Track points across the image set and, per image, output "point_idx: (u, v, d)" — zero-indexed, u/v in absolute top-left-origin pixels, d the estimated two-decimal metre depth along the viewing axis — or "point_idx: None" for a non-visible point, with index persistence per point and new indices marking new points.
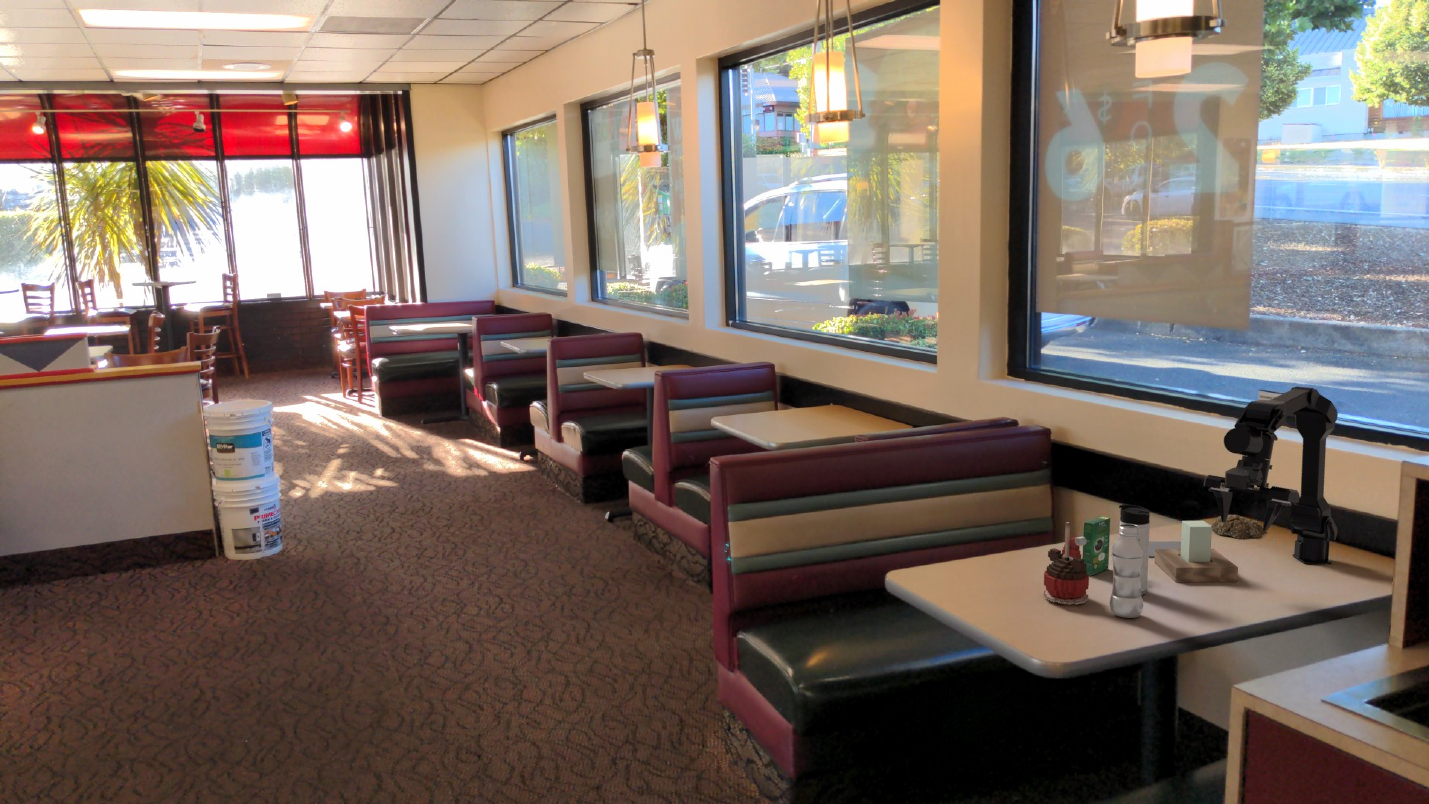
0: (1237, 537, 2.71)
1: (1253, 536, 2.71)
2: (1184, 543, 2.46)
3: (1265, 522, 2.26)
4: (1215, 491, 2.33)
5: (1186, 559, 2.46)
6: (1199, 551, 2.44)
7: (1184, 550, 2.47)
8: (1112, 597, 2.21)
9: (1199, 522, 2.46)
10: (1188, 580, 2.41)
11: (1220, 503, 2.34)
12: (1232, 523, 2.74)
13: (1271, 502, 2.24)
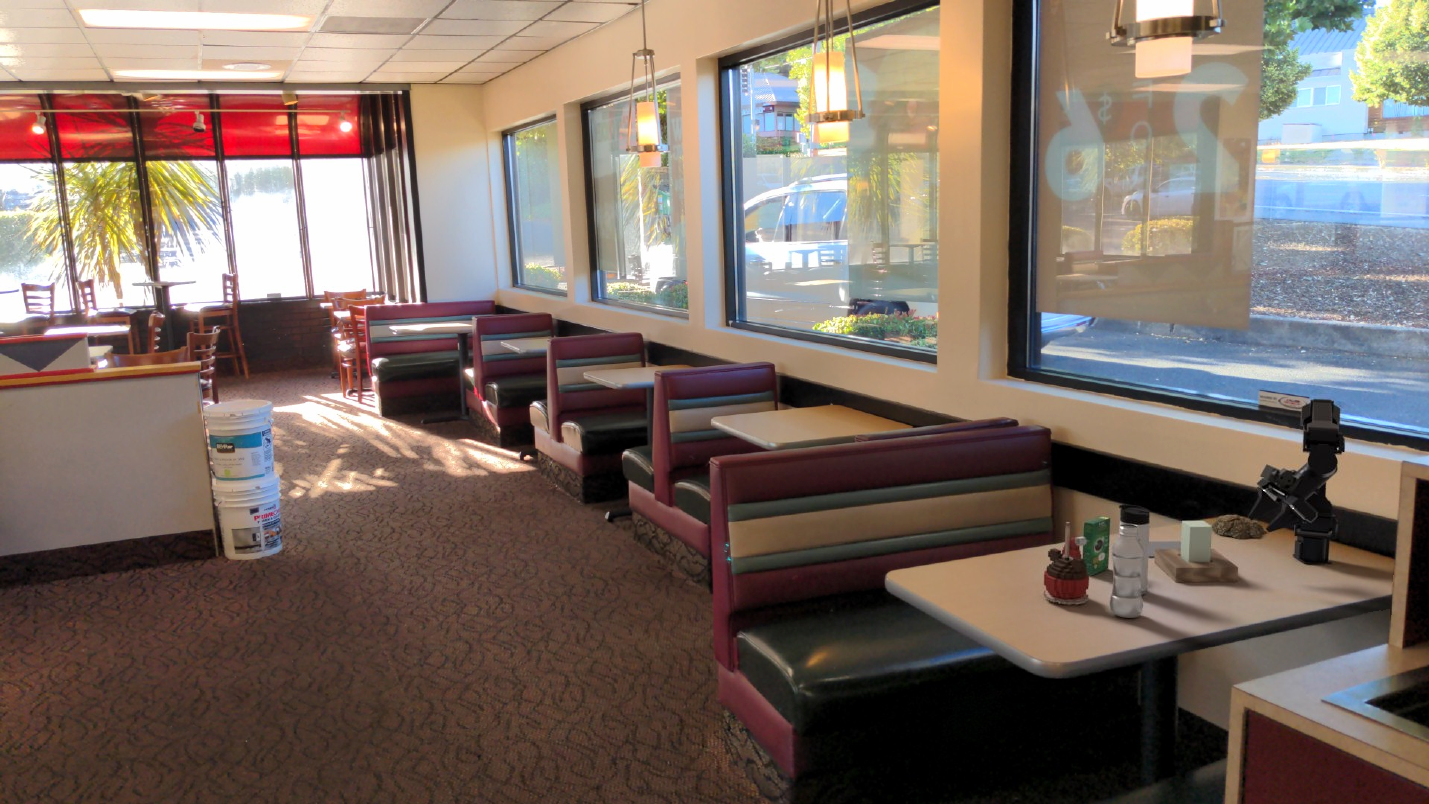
0: (1237, 537, 2.71)
1: (1253, 536, 2.71)
2: (1184, 543, 2.46)
3: (1271, 522, 2.33)
4: (1259, 489, 2.43)
5: (1186, 559, 2.46)
6: (1199, 551, 2.44)
7: (1184, 550, 2.47)
8: (1112, 597, 2.21)
9: (1199, 522, 2.46)
10: (1188, 580, 2.41)
11: (1257, 501, 2.43)
12: (1232, 523, 2.74)
13: (1284, 504, 2.31)
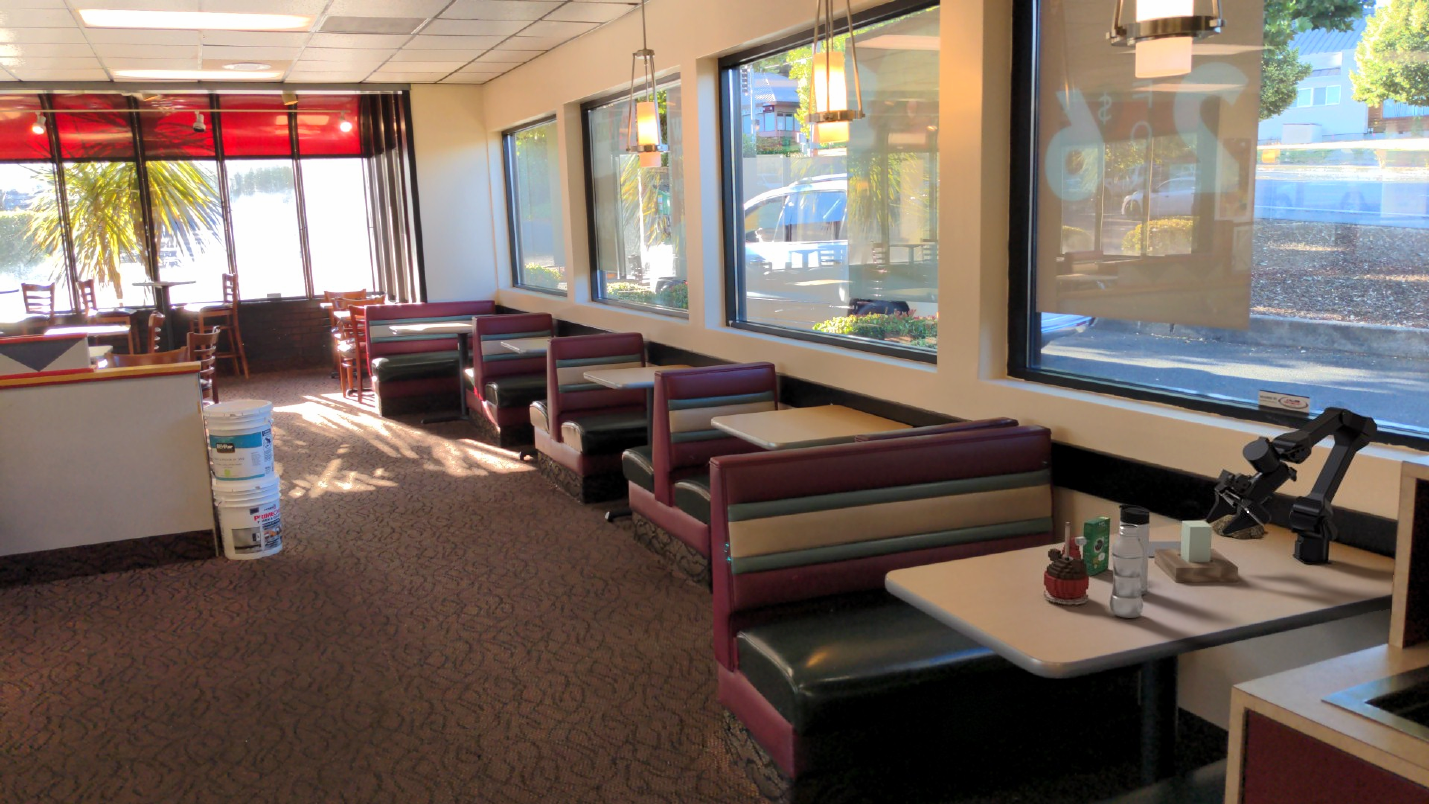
0: (1238, 537, 2.71)
1: (1254, 536, 2.71)
2: (1184, 543, 2.46)
3: (1227, 525, 2.40)
4: (1216, 493, 2.50)
5: (1186, 559, 2.46)
6: (1199, 551, 2.44)
7: (1184, 550, 2.47)
8: (1112, 597, 2.21)
9: (1199, 522, 2.46)
10: (1188, 580, 2.41)
11: (1215, 505, 2.49)
12: None
13: (1239, 508, 2.38)
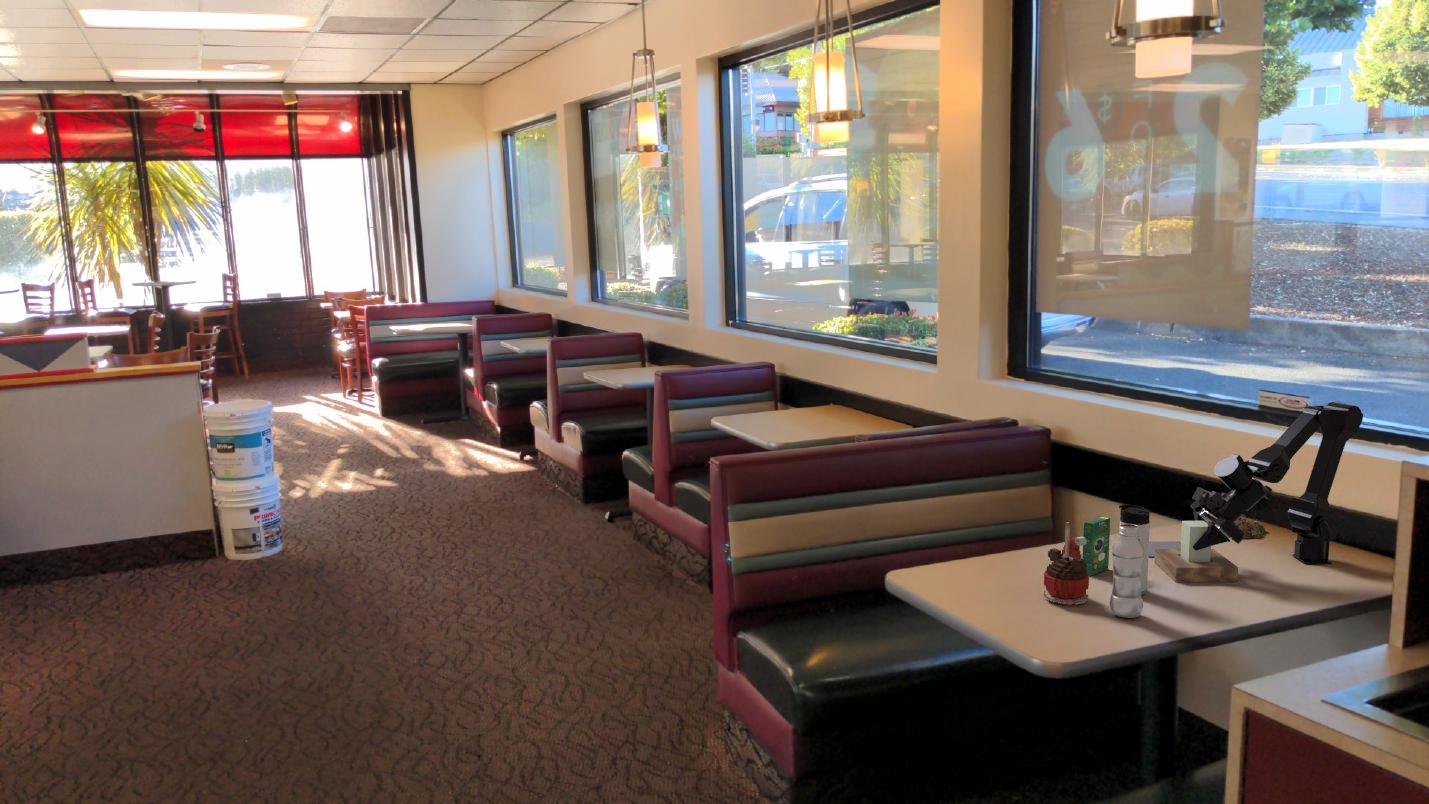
0: None
1: (1255, 536, 2.71)
2: (1184, 543, 2.46)
3: (1198, 541, 2.43)
4: (1195, 513, 2.49)
5: (1186, 559, 2.46)
6: (1199, 551, 2.44)
7: (1184, 550, 2.47)
8: (1112, 597, 2.21)
9: (1199, 522, 2.46)
10: (1188, 580, 2.41)
11: None
12: (1234, 523, 2.74)
13: (1209, 524, 2.41)
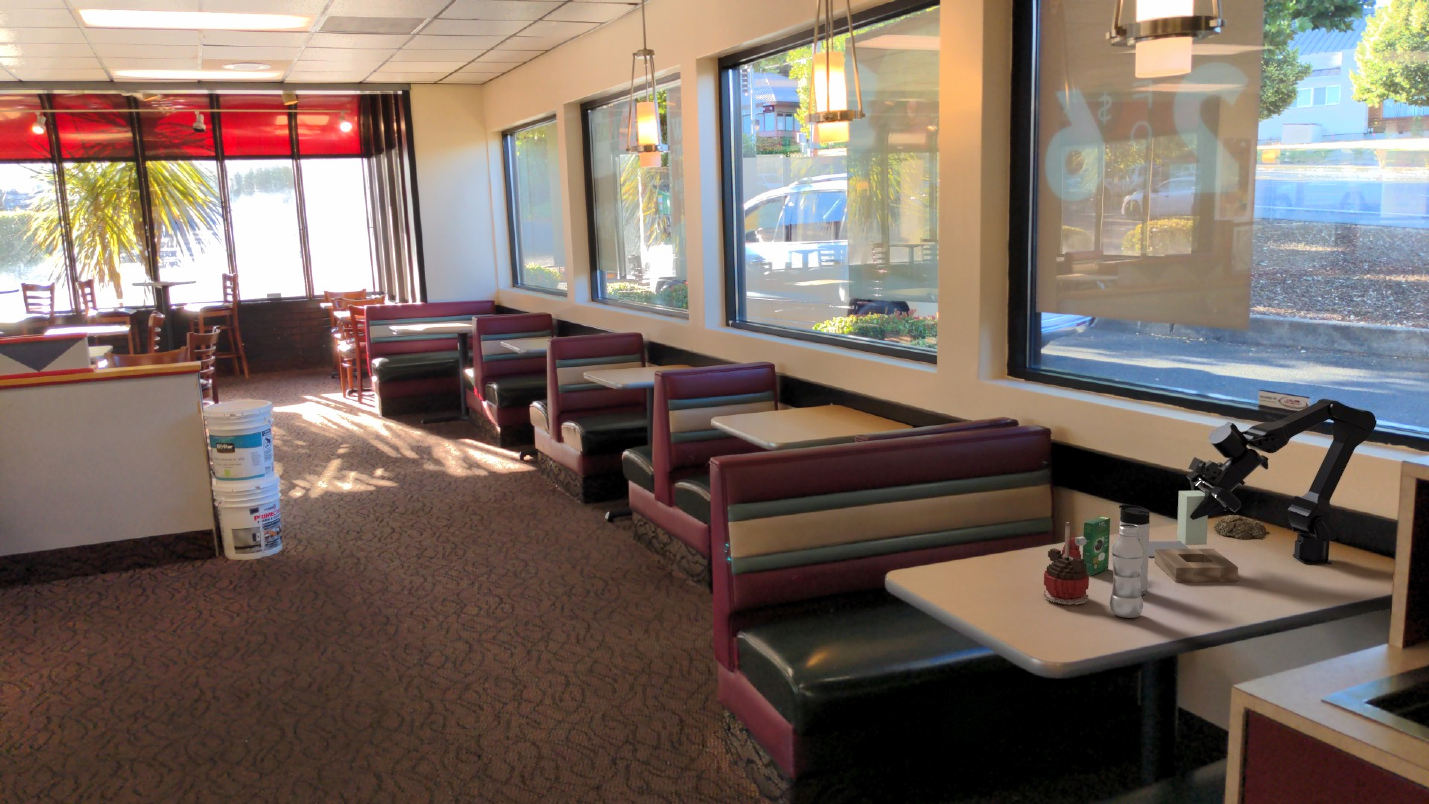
0: (1240, 538, 2.71)
1: (1256, 536, 2.71)
2: (1181, 513, 2.48)
3: (1195, 510, 2.44)
4: (1191, 483, 2.51)
5: (1183, 529, 2.47)
6: (1196, 520, 2.45)
7: (1181, 520, 2.48)
8: (1112, 597, 2.21)
9: (1196, 492, 2.48)
10: (1188, 580, 2.41)
11: None
12: (1235, 523, 2.74)
13: (1206, 493, 2.42)
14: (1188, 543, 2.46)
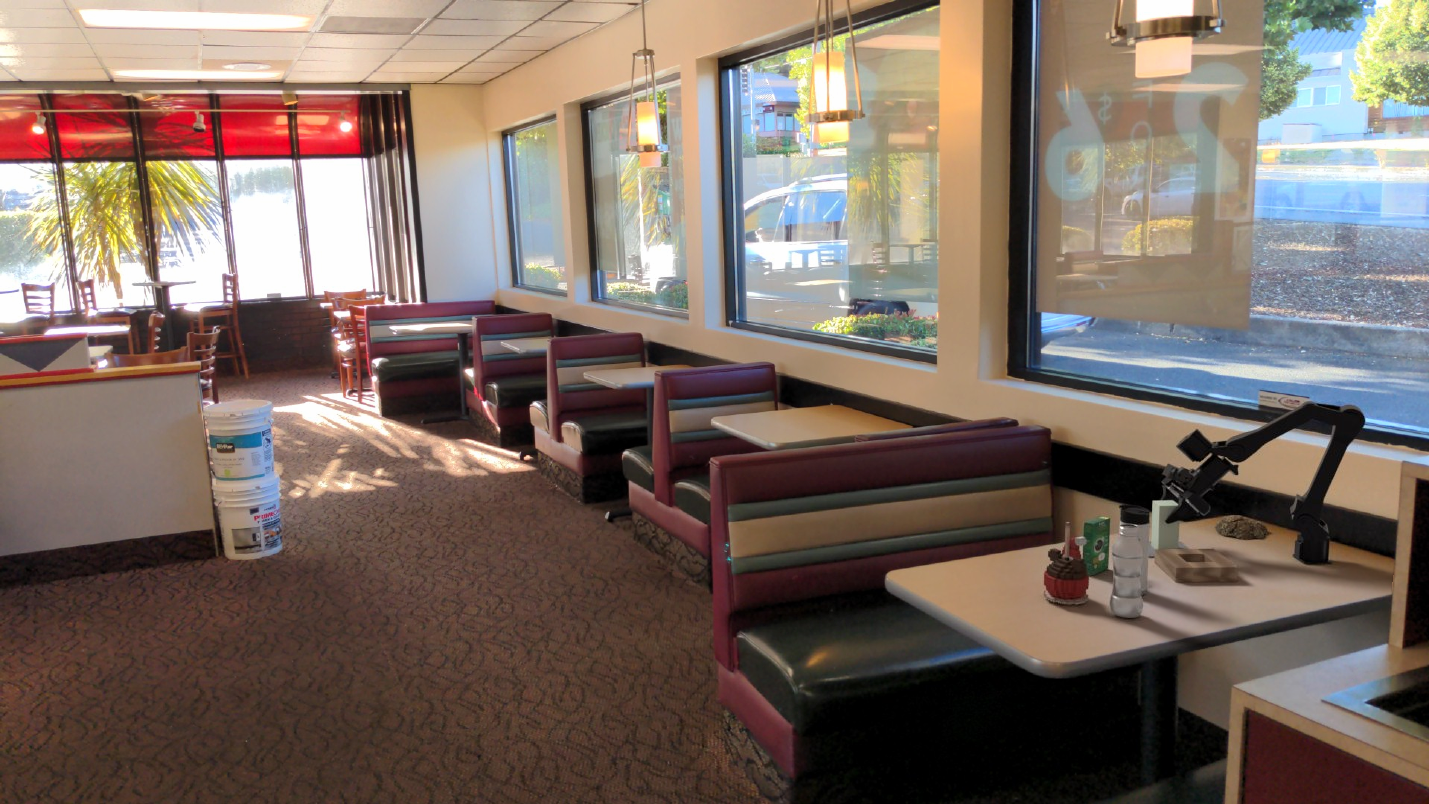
0: (1241, 538, 2.71)
1: (1257, 537, 2.71)
2: (1155, 521, 2.63)
3: (1169, 515, 2.58)
4: (1164, 486, 2.67)
5: (1156, 536, 2.62)
6: (1168, 528, 2.60)
7: (1154, 528, 2.64)
8: (1112, 597, 2.21)
9: (1168, 501, 2.63)
10: (1188, 580, 2.41)
11: (1162, 498, 2.67)
12: (1236, 524, 2.73)
13: (1180, 499, 2.56)
14: None
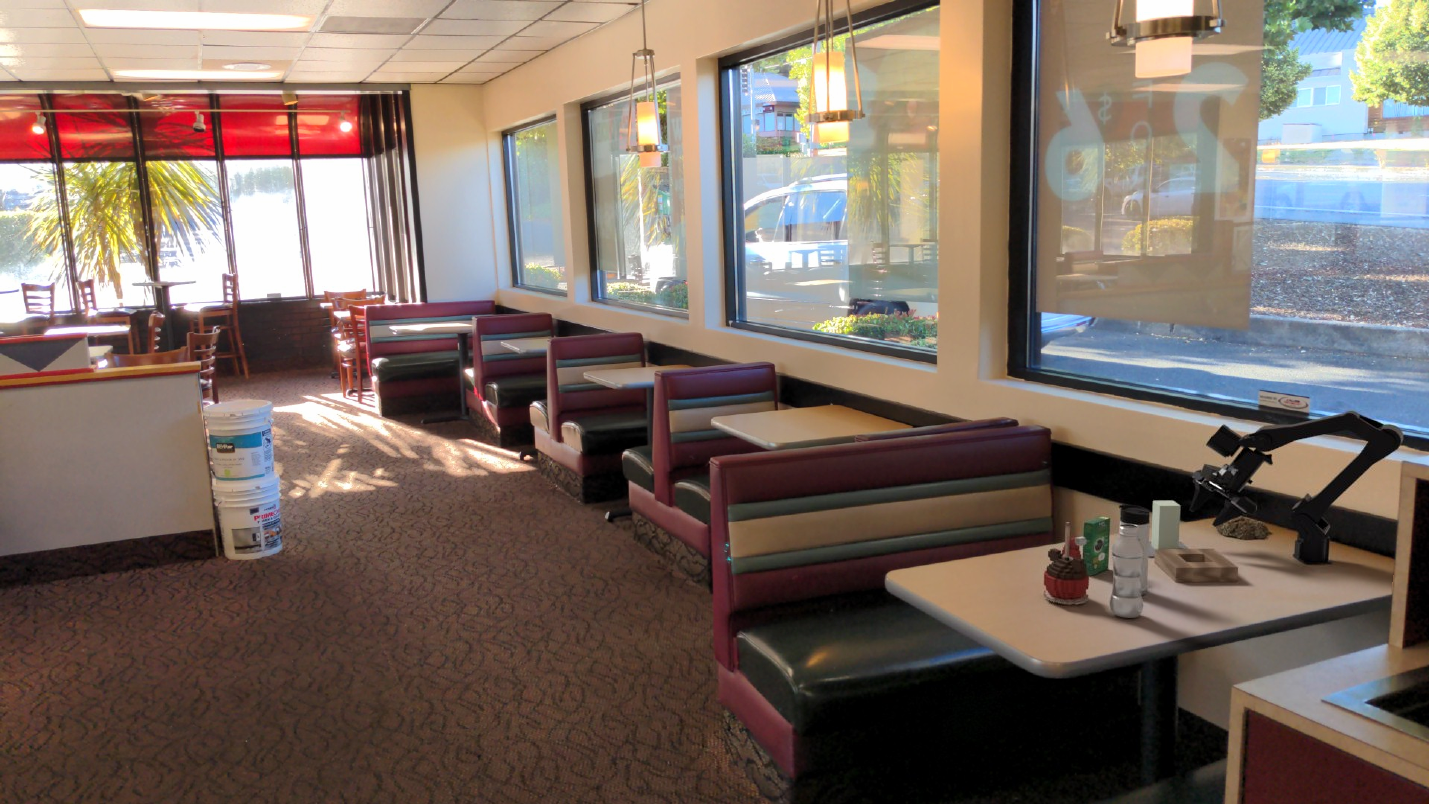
0: (1242, 538, 2.70)
1: (1258, 537, 2.71)
2: (1155, 521, 2.63)
3: (1216, 518, 2.56)
4: (1196, 482, 2.65)
5: (1156, 536, 2.62)
6: (1168, 529, 2.60)
7: (1154, 528, 2.64)
8: (1112, 597, 2.21)
9: (1169, 502, 2.63)
10: (1188, 580, 2.41)
11: (1196, 494, 2.65)
12: (1237, 524, 2.73)
13: (1227, 502, 2.53)
14: None
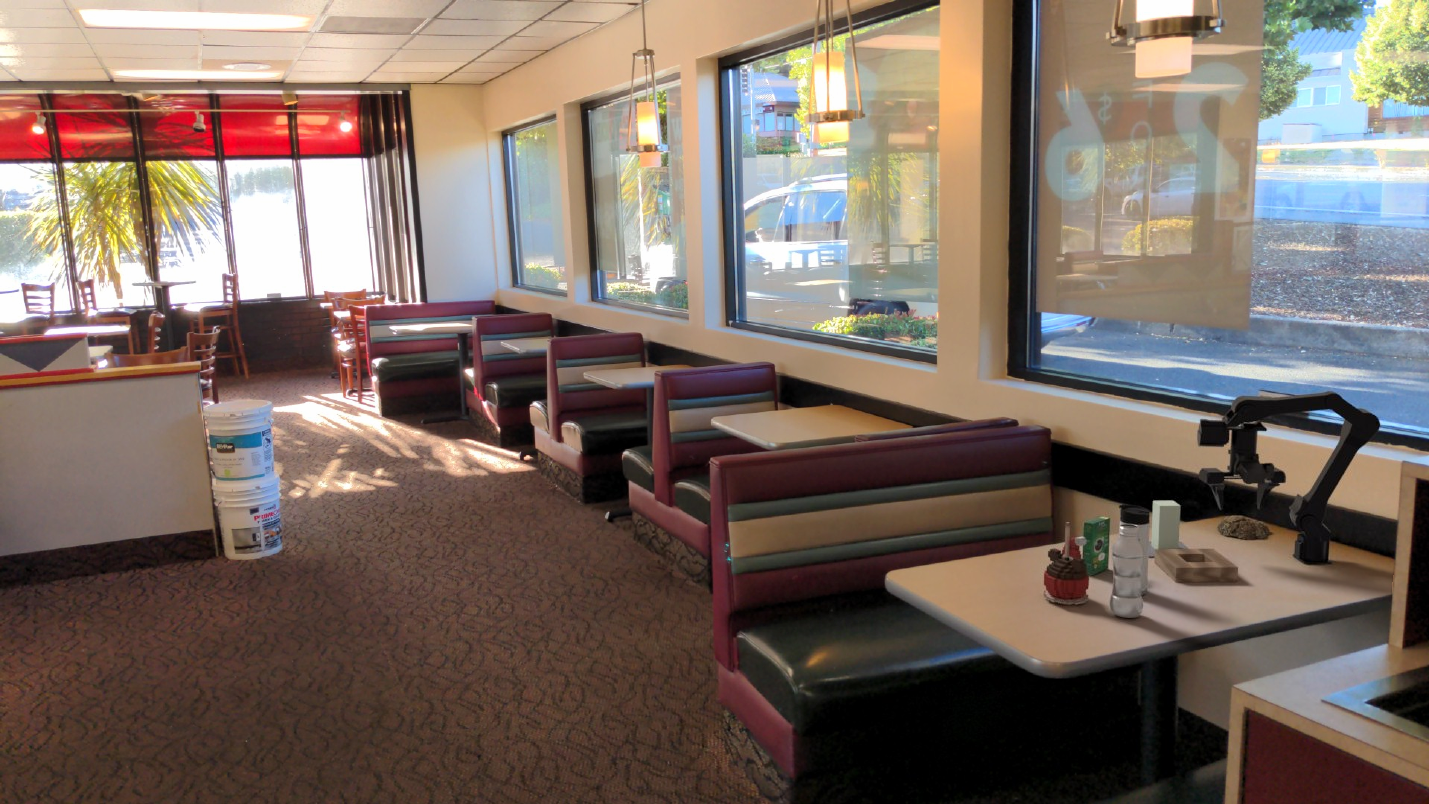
0: (1243, 538, 2.70)
1: (1259, 537, 2.70)
2: (1155, 521, 2.63)
3: (1262, 502, 2.54)
4: (1219, 486, 2.52)
5: (1156, 536, 2.62)
6: (1168, 529, 2.60)
7: (1154, 528, 2.64)
8: (1112, 597, 2.21)
9: (1169, 502, 2.63)
10: (1188, 580, 2.41)
11: (1220, 494, 2.54)
12: (1238, 524, 2.73)
13: (1272, 486, 2.52)
14: None
